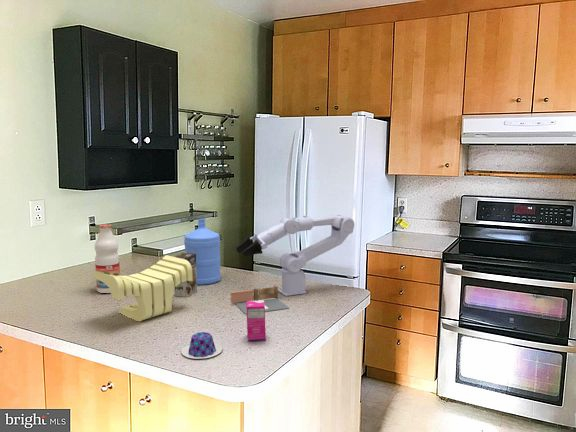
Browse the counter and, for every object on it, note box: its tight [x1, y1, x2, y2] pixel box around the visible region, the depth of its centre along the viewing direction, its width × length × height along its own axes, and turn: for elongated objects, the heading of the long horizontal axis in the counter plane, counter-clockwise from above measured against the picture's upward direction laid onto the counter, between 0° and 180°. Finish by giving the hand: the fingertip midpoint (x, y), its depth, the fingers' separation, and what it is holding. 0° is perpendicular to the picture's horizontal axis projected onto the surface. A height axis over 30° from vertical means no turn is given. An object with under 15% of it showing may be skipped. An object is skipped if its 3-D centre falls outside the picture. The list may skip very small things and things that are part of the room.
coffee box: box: [173, 252, 198, 298], centre depth 195 cm, size 9×6×16 cm
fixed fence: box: [252, 285, 279, 301], centre depth 188 cm, size 10×2×5 cm, turn 113°
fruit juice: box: [94, 223, 121, 294], centre depth 198 cm, size 9×9×28 cm
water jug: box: [183, 218, 222, 286], centre depth 213 cm, size 16×16×28 cm
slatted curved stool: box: [93, 254, 193, 322], centre depth 172 cm, size 30×16×18 cm, turn 140°
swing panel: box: [230, 289, 254, 304], centre depth 184 cm, size 9×1×4 cm, turn 113°
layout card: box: [233, 294, 290, 316], centre depth 183 cm, size 17×19×1 cm
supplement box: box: [246, 300, 267, 342], centre depth 150 cm, size 6×6×12 cm
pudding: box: [181, 331, 223, 360], centre depth 141 cm, size 12×12×5 cm
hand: (240, 252), depth 187 cm, fingers open, 7 cm apart
